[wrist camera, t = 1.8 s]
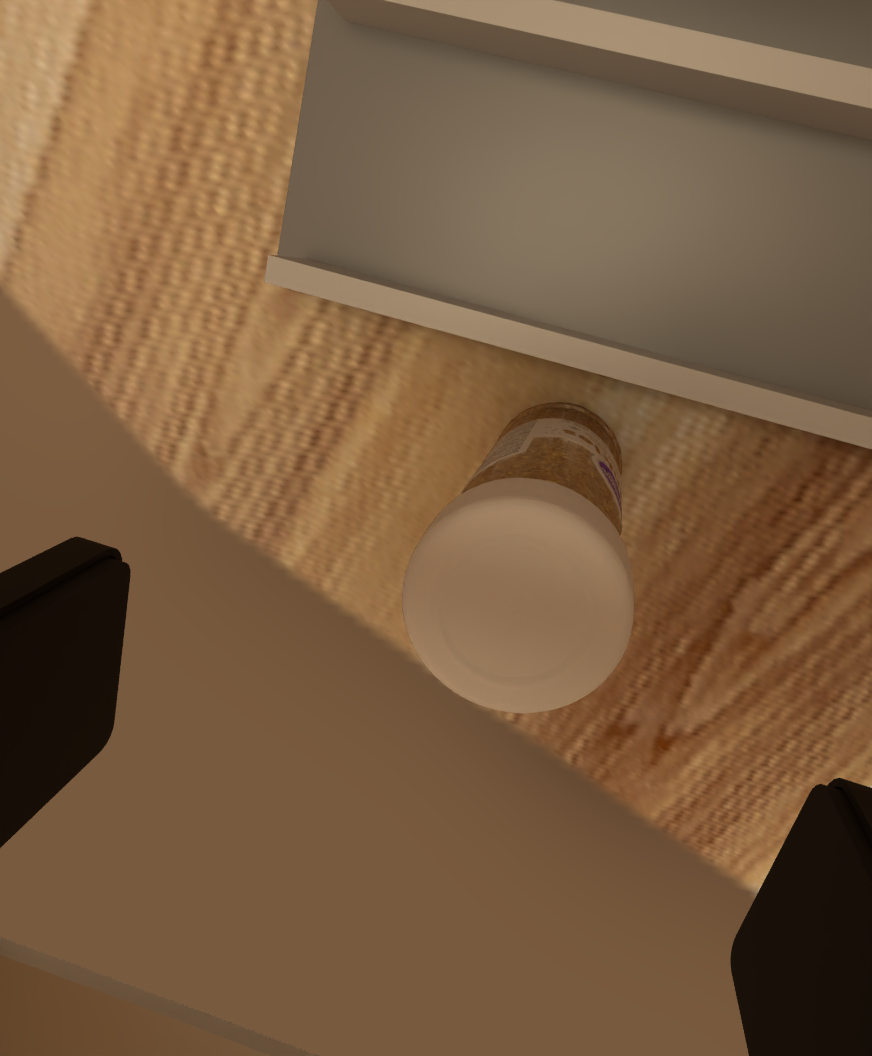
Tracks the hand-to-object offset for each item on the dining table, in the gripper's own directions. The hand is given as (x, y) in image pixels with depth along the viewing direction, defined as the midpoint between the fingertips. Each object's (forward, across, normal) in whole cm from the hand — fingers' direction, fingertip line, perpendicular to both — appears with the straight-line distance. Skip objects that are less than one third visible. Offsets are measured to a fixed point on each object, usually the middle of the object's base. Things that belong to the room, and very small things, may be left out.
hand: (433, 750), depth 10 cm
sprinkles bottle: (+18, -1, 0) cm, 18 cm away
